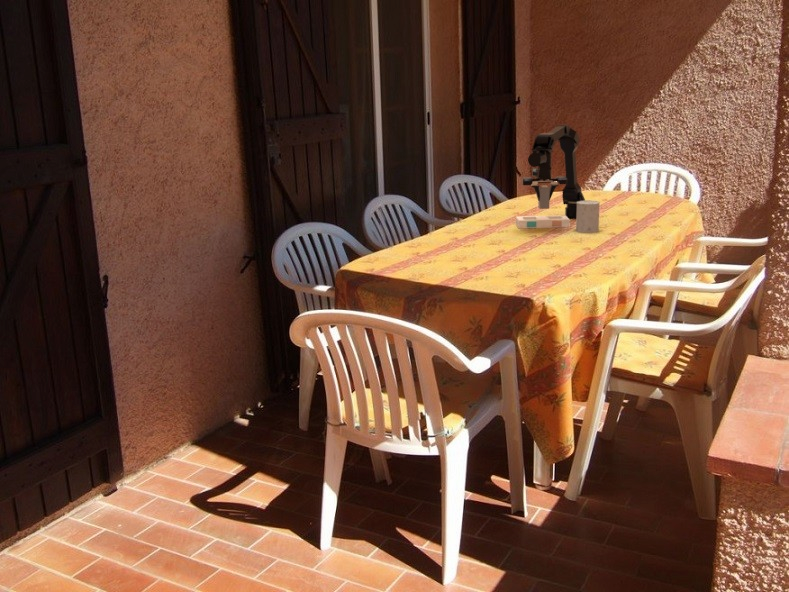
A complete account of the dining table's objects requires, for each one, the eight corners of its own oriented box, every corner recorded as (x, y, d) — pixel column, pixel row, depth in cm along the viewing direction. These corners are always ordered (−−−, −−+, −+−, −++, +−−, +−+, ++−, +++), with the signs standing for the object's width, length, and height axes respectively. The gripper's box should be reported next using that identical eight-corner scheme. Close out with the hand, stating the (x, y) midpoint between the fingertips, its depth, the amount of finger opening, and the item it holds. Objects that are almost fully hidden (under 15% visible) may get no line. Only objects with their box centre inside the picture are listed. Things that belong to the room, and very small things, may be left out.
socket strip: (565, 222, 393) (565, 215, 392) (569, 227, 383) (569, 219, 382) (515, 224, 393) (516, 216, 393) (518, 228, 383) (519, 220, 382)
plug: (547, 207, 378) (548, 184, 376) (549, 208, 374) (549, 186, 372) (538, 207, 378) (538, 185, 376) (539, 208, 374) (540, 186, 372)
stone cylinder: (573, 232, 373) (573, 203, 370) (579, 228, 381) (580, 200, 378) (595, 233, 368) (596, 204, 365) (601, 229, 377) (602, 201, 373)
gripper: (563, 161, 379) (562, 197, 383) (519, 162, 379) (519, 198, 383) (568, 164, 368) (567, 201, 372) (523, 165, 368) (523, 202, 373)
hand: (543, 200), depth 375 cm, fingers closed on plug, 4 cm apart
